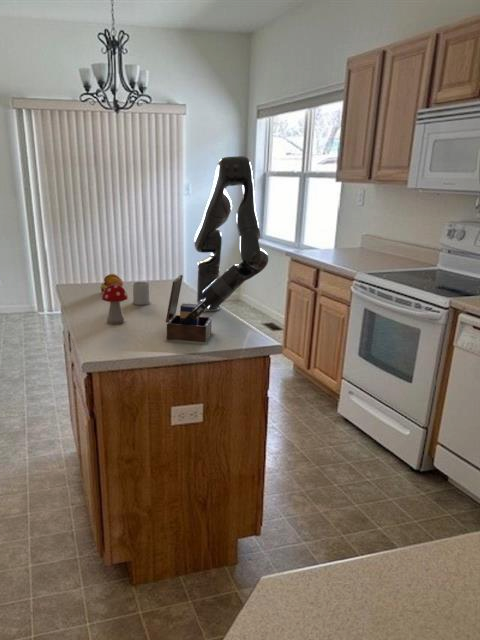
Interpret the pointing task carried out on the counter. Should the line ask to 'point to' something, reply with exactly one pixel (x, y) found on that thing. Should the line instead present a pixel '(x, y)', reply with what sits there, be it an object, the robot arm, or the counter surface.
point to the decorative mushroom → (114, 302)
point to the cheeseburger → (111, 281)
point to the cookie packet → (186, 310)
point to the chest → (189, 330)
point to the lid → (174, 298)
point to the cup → (141, 293)
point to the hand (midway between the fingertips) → (184, 322)
